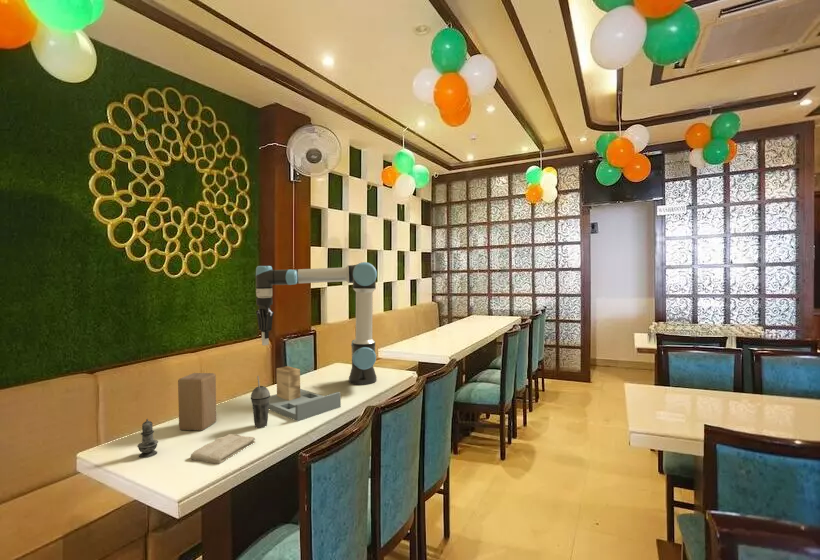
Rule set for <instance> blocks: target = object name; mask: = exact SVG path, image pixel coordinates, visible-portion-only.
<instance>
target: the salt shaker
mask: <svg viewBox="0 0 820 560" xmlns="http://www.w3.org/2000/svg"><path fill="white" fill-rule="evenodd" d="M141 427H142V428H141V429H142V430H141V431H142V432H141V433H140V435H142V436H141V438H142V439H141V442H139V444H137V445H136V446H137V447H136V448H138V451H139V452H141V453H140V454H139V455H138V458H140V459H146V458H152V457H154V456H155V455H157V454H158V451H157V450H155V449H156V448H157V447H158V443H159V441H158V440H156V439H154V433H155V431H154V430H153V422H152V421H151V420H149V419H148V418H146V420H145V421H144V422H143V423H142V425H141Z"/></svg>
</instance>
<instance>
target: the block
mask: <svg viewBox="0 0 820 560" xmlns="http://www.w3.org/2000/svg"><path fill="white" fill-rule="evenodd" d="M216 380H217V377H216V373H213V372H212V373H211V372H194V373H193V372H192V373H191V374H188V375H185V376H183V377H181V378H178V381H177V389H178V393H177V395H178V396H177V397H178V398H177V399H178V428H179V430H180V431H203V430H205V429H207V428H208V427H210V426H212V425H214V424H215V423H216V422H217V418H218V417H217V386H216V385H217V384H216V382H217V381H216Z"/></svg>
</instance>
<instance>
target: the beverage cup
mask: <svg viewBox="0 0 820 560" xmlns="http://www.w3.org/2000/svg"><path fill="white" fill-rule="evenodd" d="M256 378H257V386H256V387H255V388H254V389H253V390H252V392H251V394H250V400H251V405H252V413H253V423H254V427H255V428H256V427H257V429H262V428H261V427H263V428H265V426H266V427H267V426H268V421H269V409H268V408H269V400H270V396H271V395H270V394H271V393H270V390H269V389H268V387H266V386H264V385H260V376H259V375H257V377H256Z"/></svg>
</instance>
